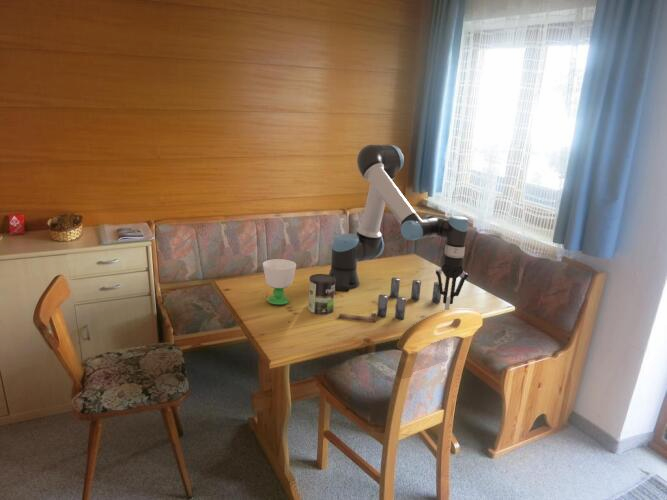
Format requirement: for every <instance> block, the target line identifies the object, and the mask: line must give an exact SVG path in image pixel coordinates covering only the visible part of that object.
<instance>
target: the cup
mask: <svg viewBox="0 0 667 500" xmlns="http://www.w3.org/2000/svg"><path fill="white" fill-rule="evenodd" d="M262 267H263V272H264V277H265V278H264V279H265V283H266V285H267V286H269V287H270V288H272V289H273V291H272V294H273V296H270V297H268V298H267V302H268V303H269V304H273V305H285V304H288V303H290V298H289V297H286V296H284V295H285V290H284V289H287V288H289V287H290V286H291V285H292V284H293V281H294V277H295V272H296V269H297V263H296V262H294V261H293V260H289V259H283V258H282V259H281V258H279V259H278V258H276V259H275V258H274V259H268V260H265V261H263V262H262Z"/></svg>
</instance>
